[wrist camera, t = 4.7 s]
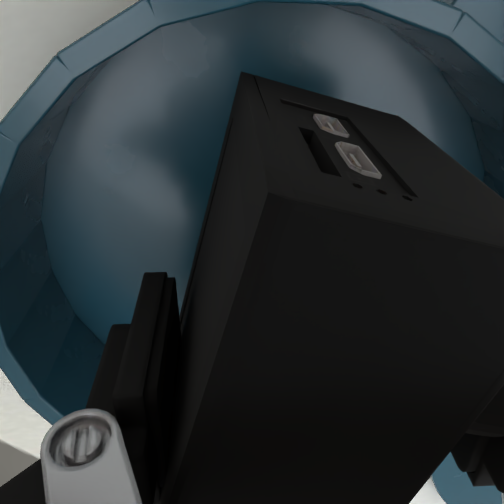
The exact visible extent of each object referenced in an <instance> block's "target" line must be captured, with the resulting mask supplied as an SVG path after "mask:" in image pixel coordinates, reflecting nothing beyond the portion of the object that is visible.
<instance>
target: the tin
mask: <svg viewBox="0 0 504 504" xmlns="http://www.w3.org/2000/svg"><path fill="white" fill-rule="evenodd" d="M241 71H242V72H245V73H249V74H252V75H256V76H260V77H263V78H267V79H270V80H274V81H277V82H281V83H284V84H288V85H291V86H295V87H298V88H302V89H305V90H309V91H312V92H316V93H319V94H323V95H326V96H330V97H333V98H336V99H340V100H343V101H347V102H350V103H354V104H357V105H361V106H364V107H368V108H371V109H375V110H378V111H382V112H385V113H389V114H392V115H398V116H399V117H401V118H402V119H404V120H405V121H407V122H408V123H409V124H411V125H412V126H413V127H414V128H416V129H417V130H418V131H419V132H421V133H422V134H423V135H424V136H426V137H427V138H428V139H429V140H431V141H432V142H433V143H434V144H436V145H437V146H438V147H439V148H441V149H442V150H443V151H444V152H446V153H447V154H448V155H449V156H451V157H452V158H453V159H454V160H456V161H457V162H458V163H459V164H461V165H462V166H463V167H464V168H466V169H467V170H468V171H469V172H471V173H472V174H473V175H474V176H476V177H477V178H478V179H479V180H481V181H482V182H483V183H484V184H486V185H487V186H488V187H489V188H491V189H492V190H493V191H494V192H496V193H497V194H498V195H499V196H501V197H502V198H503V199H504V0H139V1H138V2H136V3H135V4H133V5H132V6H130V7H128V8H127V9H125V10H124V11H122V12H121V13H119V14H117V15H116V16H114V17H113V18H111V19H110V20H108V21H106V22H105V23H103V24H102V25H100V26H98V27H97V28H95V29H94V30H92V31H91V32H89V33H87V34H86V35H84V36H83V37H81V38H80V39H78V40H76V41H75V42H73V43H72V44H70V45H69V46H67V47H65V48H64V49H62V50H61V51H59V52H58V53H57V55H56V56H54V57H53V58H52V59H51V60H50V62H49V63H48V64H47V65H46V67H45V68H44V69H43V70H42V71H41V73H40V74H39V75H38V76H37V78H36V79H35V80H34V81H33V82H32V84H31V85H30V86H29V87H28V89H27V90H26V91H25V92H24V93H23V95H22V96H21V97H20V98H19V100H18V101H17V102H16V103H15V105H14V106H13V107H12V108H11V109H10V111H9V112H8V113H7V114H6V116H5V117H4V118H3V119H2V120H1V122H0V368H1V369H2V371H3V372H4V374H5V375H6V376H7V378H8V379H9V381H10V382H11V384H12V385H13V386H14V388H15V389H16V391H17V392H18V394H19V395H20V396H21V398H22V399H23V400H24V401H25V402H26V403H27V404H28V405H29V406H30V407H31V408H33V409H34V410H35V411H36V412H37V413H38V414H40V415H41V416H42V417H43V418H44V419H45V420H47V421H48V422H49V423H50V424H51V425H52V426H53V425H54V424H55V423H56V422H57V421H59V420H60V419H61V418H63V417H64V416H66V415H68V414H71V413H73V412H75V411H79V410H83V409H85V408H86V405H87V401H88V398H89V395H90V392H91V389H92V385H93V382H94V379H95V376H96V373H97V370H98V366H99V363H100V360H101V357H102V354H103V350H104V347H105V344H106V341H107V338H108V334H109V331H110V329H111V326H112V325H113V324H131V321H132V318H133V314H134V310H135V306H136V302H137V298H138V294H139V291H140V287H141V283H142V279H143V275H144V273H145V272H167V275H168V277H175V279H176V288H177V298H178V308H179V315H180V311H181V307H182V303H183V299H184V295H185V291H186V287H187V284H188V280H189V276H190V272H191V268H192V264H193V260H194V256H195V252H196V248H197V244H198V240H199V236H200V232H201V228H202V224H203V220H204V216H205V212H206V208H207V204H208V200H209V196H210V192H211V188H212V184H213V180H214V176H215V172H216V168H217V165H218V161H219V157H220V153H221V149H222V145H223V141H224V137H225V133H226V129H227V125H228V121H229V117H230V113H231V109H232V105H233V101H234V97H235V93H236V89H237V85H238V81H239V77H240V73H241Z"/></svg>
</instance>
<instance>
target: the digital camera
mask: <svg viewBox="0 0 504 504" xmlns="http://www.w3.org/2000/svg"><path fill="white" fill-rule="evenodd" d="M179 318H180V328H181V338H182V340H181V349H180V358H179V367H178V376H177V386H176V395H175V404H174V413H173V423H172V432H171V441H170V451H169V461H168V470H167V474H166V478H165V481H164V484H163V487H161V496H160V501H159V503H154V504H409V503H410V501H411V500H412V499H413V498H414V496H415V495H416V494H417V493H418V491H419V490H420V489H421V488H422V486H423V485H424V484H425V483H426V481H427V480H428V479H429V478H430V476H431V475H432V474H433V473H434V471H435V470H436V469H437V468H438V466H439V465H440V464H441V463H442V461H443V460H444V459H445V458H446V456H447V455H448V454H449V453H450V451H451V450H452V449H453V448H454V446H455V445H456V444H457V443H458V441H459V440H460V439H461V438H462V436H463V435H464V434H465V433H468V434H474V435H481V436H489V437H502V436H504V199H503V198H502V197H501V196H499V195H498V194H497V193H496V192H494V191H493V190H492V189H491V188H489V187H488V186H487V185H486V184H484V183H483V182H482V181H481V180H479V179H478V178H477V177H476V176H474V175H473V174H472V173H471V172H469V171H468V170H467V169H466V168H464V167H463V166H462V165H461V164H459V163H458V162H457V161H456V160H454V159H453V158H452V157H451V156H449V155H448V154H447V153H446V152H444V151H443V150H442V149H441V148H439V147H438V146H437V145H436V144H434V143H433V142H432V141H431V140H429V139H428V138H427V137H426V136H424V135H423V134H422V133H421V132H419V131H418V130H417V129H416V128H414V127H413V126H412V125H411V124H409V123H408V122H407V121H405V120H404V119H402V118H401V117H399V116H398V115H392V114H389V113H385V112H382V111H378V110H375V109H371V108H368V107H364V106H361V105H357V104H354V103H350V102H347V101H343V100H340V99H336V98H333V97H330V96H326V95H323V94H319V93H316V92H312V91H309V90H305V89H302V88H298V87H295V86H291V85H288V84H284V83H281V82H277V81H274V80H270V79H267V78H263V77H260V76H256V75H252V74H249V73H245V72H242V71H241V73H240V77H239V81H238V85H237V89H236V93H235V97H234V101H233V105H232V109H231V113H230V117H229V121H228V125H227V129H226V133H225V137H224V141H223V145H222V149H221V153H220V157H219V161H218V165H217V168H216V172H215V176H214V180H213V184H212V188H211V192H210V196H209V200H208V204H207V208H206V212H205V216H204V220H203V224H202V228H201V232H200V236H199V240H198V244H197V248H196V252H195V256H194V260H193V264H192V268H191V272H190V276H189V280H188V284H187V287H186V291H185V295H184V299H183V303H182V307H181V311H180V315H179Z"/></svg>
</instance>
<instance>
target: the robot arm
mask: <svg viewBox="0 0 504 504" xmlns="http://www.w3.org/2000/svg"><path fill="white" fill-rule="evenodd" d="M181 340H182V338H181V328H180V318H179V308H178V298H177V288H176V279H175V277H168V275H167V272H145V273H144V275H143V279H142V283H141V287H140V291H139V294H138V298H137V302H136V306H135V310H134V314H133V318H132V321H131V324H113V325H112V326H111V329H110V331H109V334H108V338H107V341H106V344H105V347H104V350H103V354H102V357H101V360H100V363H99V366H98V370H97V373H96V376H95V379H94V382H93V385H92V389H91V392H90V395H89V398H88V401H87V405H86V408H85V409H83V410H79V411H75V412H73V413H71V414H68V415H66V416H64V417H63V418H61V419H60V420H59V421H57V422H56V423H55V424H54V425H53V426H52V427H51V428H50V429H49V431H48V432H47V433H46V435H45V437H44V439H43V441H42V443H41V452H40V457H41V459H39V460H38V461H37V462H35V463H34V464H32V465H31V466H30V467H28V468H27V469H25V470H24V471H22V472H21V473H20V474H18V475H17V476H15V477H14V478H12V479H11V480H10V481H8V482H7V483H5V484H4V485H2V486H1V487H0V504H154V503H159V501H160V496H161V487H163V484H164V481H165V478H166V474H167V470H168V461H169V451H170V441H171V432H172V423H173V413H174V404H175V395H176V386H177V376H178V367H179V358H180V349H181ZM450 452H451V454H452V456H453V458H454V460H455V462H456V464H457V466H458V468H459V469H460V470H461V471H462V472H466V473H467V475H468V477H469V479H470V481H471V483H472V485H473V487H475V486H496V488H497V490H498V491H500V492H502V495H501V497H502V504H504V436H502V437H489V436H481V435H474V434H468V433H465V434H464V435H463V436H462V438H461V439H460V440H459V441H458V443H457V444H456V445H455V446H454V448H453V449H452V450H451V451H450Z"/></svg>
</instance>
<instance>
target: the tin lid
mask: <svg viewBox="0 0 504 504" xmlns="http://www.w3.org/2000/svg"><path fill="white" fill-rule="evenodd" d="M431 478H432V480H433V483H434V485H435V487H436V490H437V492H438V493H439V494H440V496H441V497H442V499H443V500H444V502H446V503H447V504H502V497H501V495H502V492H500V491H498V490H497V488H496V486H475V487H473V485H472V483H471V481H470V479H469V477H468V475H467V473H466V472H462V471H461V470H460V469H459V468H458V466H457V464H456V462H455V460H454V458H453V456H452V454H451V452H450V453H449V454H448V455H447V456H446V458H445V459H444V460H443V461H442V463H441V464H440V465H439V466H438V468H437V469H436V470H435V471H434V473H433V474H432V475H431Z"/></svg>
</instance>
